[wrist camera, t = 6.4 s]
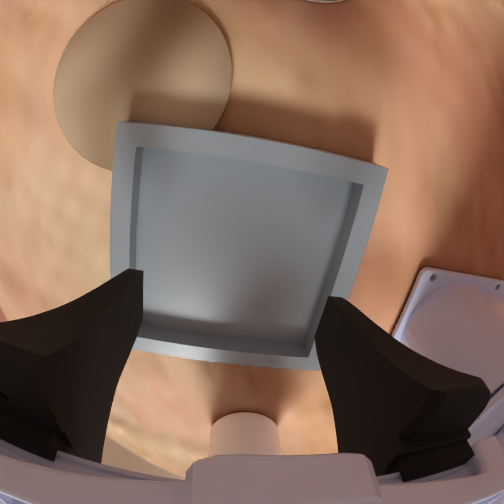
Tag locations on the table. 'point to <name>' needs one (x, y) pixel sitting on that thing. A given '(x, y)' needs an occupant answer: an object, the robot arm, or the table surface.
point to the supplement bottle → (325, 1)
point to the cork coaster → (140, 73)
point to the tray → (237, 239)
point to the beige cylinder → (244, 435)
